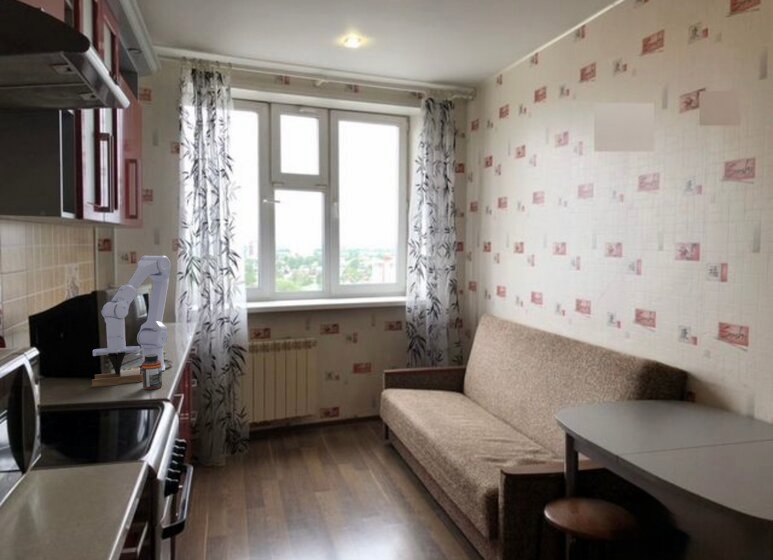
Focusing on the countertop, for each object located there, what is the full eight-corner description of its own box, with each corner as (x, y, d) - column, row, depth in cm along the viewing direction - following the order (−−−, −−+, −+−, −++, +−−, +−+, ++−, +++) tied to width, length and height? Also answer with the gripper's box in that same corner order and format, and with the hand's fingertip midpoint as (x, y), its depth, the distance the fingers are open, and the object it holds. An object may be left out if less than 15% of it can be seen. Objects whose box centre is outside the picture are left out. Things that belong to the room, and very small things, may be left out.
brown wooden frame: (95, 381, 180) (94, 374, 180) (144, 376, 186) (144, 370, 186) (92, 387, 173) (91, 380, 173) (143, 381, 179) (143, 375, 179)
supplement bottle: (143, 386, 174) (141, 353, 173) (162, 384, 176) (160, 352, 175) (142, 391, 168) (141, 357, 167) (162, 389, 171) (161, 355, 170)
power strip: (121, 380, 182) (121, 368, 181) (140, 378, 184) (139, 366, 184) (120, 382, 179) (120, 370, 178) (139, 380, 181) (139, 368, 180)
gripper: (90, 339, 172) (92, 379, 173) (138, 336, 177) (139, 374, 178) (93, 336, 178) (95, 373, 179) (139, 332, 184) (141, 369, 185)
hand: (117, 373), depth 179 cm, fingers closed
